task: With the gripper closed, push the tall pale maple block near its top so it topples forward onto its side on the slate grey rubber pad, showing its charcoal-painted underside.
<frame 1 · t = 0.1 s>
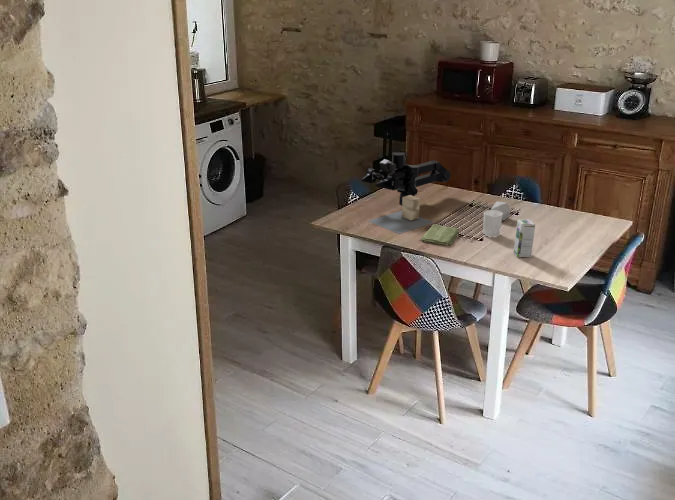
hand: (368, 182, 316), 17 cm above the table, tool horizontal, fingers open, 9 cm apart
maple block: (410, 218, 318), point 1 cm above the table, touching rubber pad
rubber pad: (400, 224, 315), on the table
die: (499, 219, 322), on the table
washcloth: (440, 238, 301), on the table
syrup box: (522, 255, 283), on the table
white cup: (491, 235, 303), on the table
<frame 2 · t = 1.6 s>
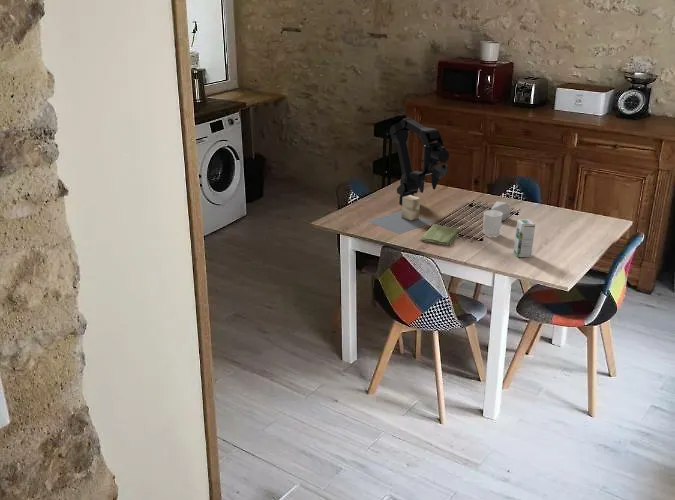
hand: (427, 191, 320), 12 cm above the table, tool pointing down, fingers open, 8 cm apart
nothing on the table moved.
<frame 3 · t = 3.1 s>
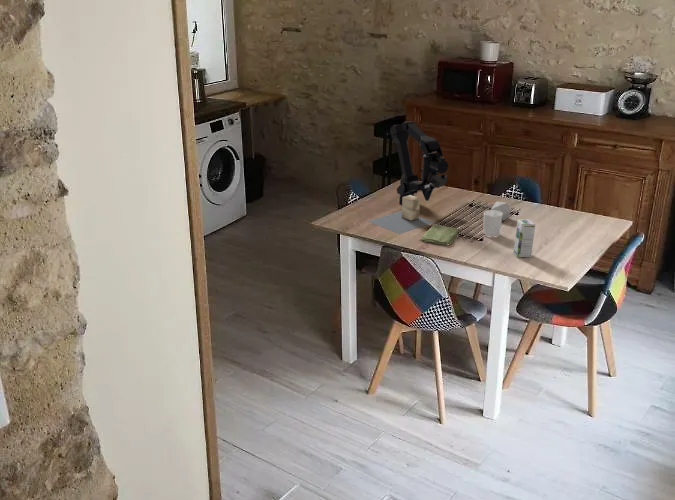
hand: (427, 200, 322), 8 cm above the table, tool pointing down, fingers closed
nothing on the table moved.
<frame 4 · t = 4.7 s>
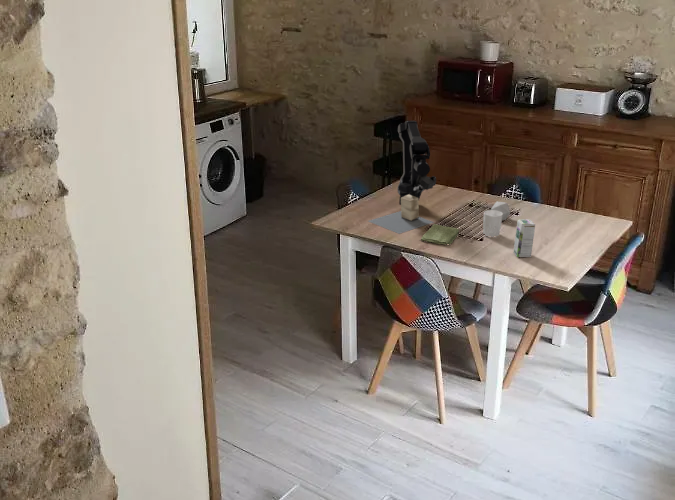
hand: (416, 202, 317), 8 cm above the table, tool pointing down, fingers closed
maple block: (410, 218, 318), point 1 cm above the table, tilted 6°, touching gripper, rubber pad
everything else where it was.
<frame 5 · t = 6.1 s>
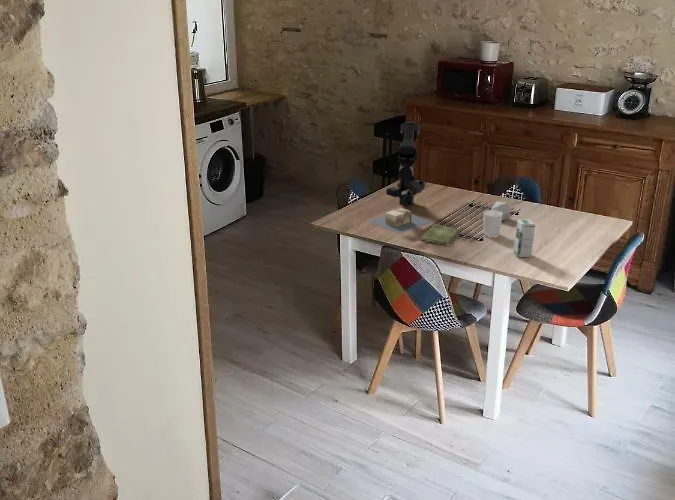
hand: (404, 207, 313), 8 cm above the table, tool pointing down, fingers closed
maple block: (406, 214, 315), point 4 cm above the table, tilted 90°, touching rubber pad
everything else where it was.
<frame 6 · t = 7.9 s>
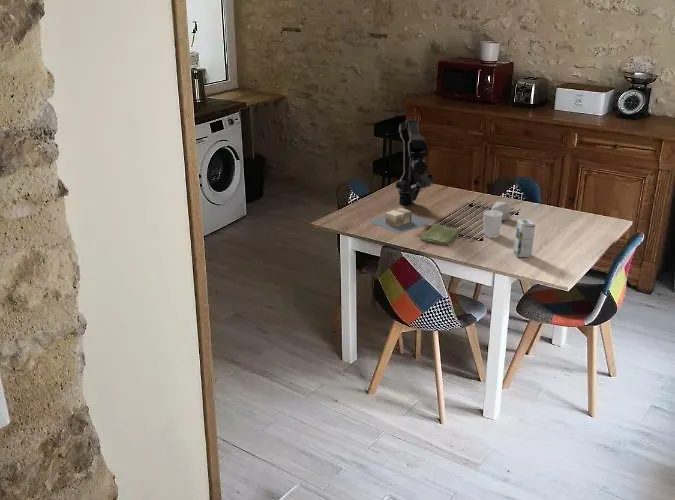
hand: (414, 200, 316), 9 cm above the table, tool pointing down, fingers closed
nothing on the table moved.
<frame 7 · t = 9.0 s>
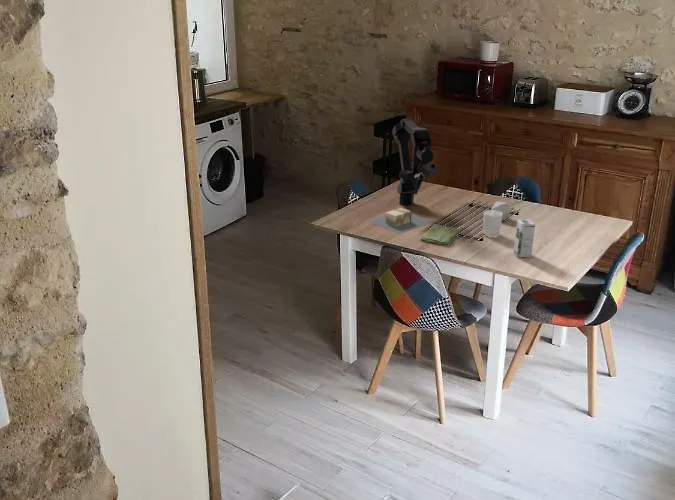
hand: (417, 190, 321), 12 cm above the table, tool pointing down, fingers closed
nothing on the table moved.
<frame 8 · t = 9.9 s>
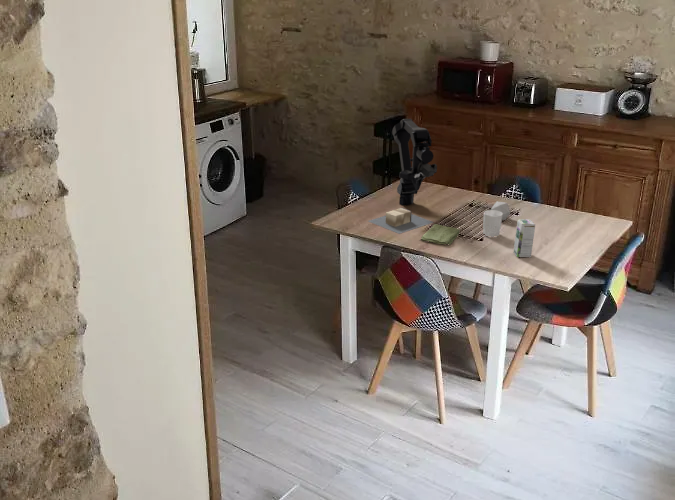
hand: (417, 190, 321), 12 cm above the table, tool pointing down, fingers closed
nothing on the table moved.
at the end: maple block tilted 90°; maple block touching rubber pad; maple block inside the target area (4.0 cm from its centre), point 3.7 cm above the table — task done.
